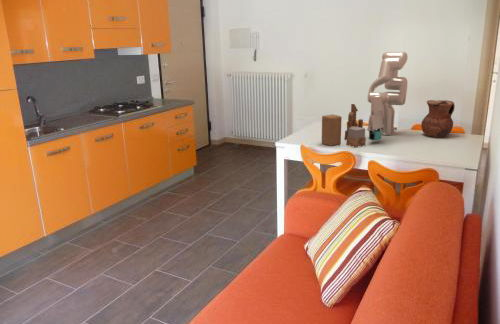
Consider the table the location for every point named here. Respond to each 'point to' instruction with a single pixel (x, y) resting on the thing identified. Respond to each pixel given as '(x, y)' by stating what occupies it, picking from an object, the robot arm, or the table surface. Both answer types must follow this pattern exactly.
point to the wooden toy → (353, 120)
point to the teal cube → (376, 135)
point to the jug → (438, 118)
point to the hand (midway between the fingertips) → (375, 137)
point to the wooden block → (331, 129)
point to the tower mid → (356, 132)
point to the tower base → (356, 141)
